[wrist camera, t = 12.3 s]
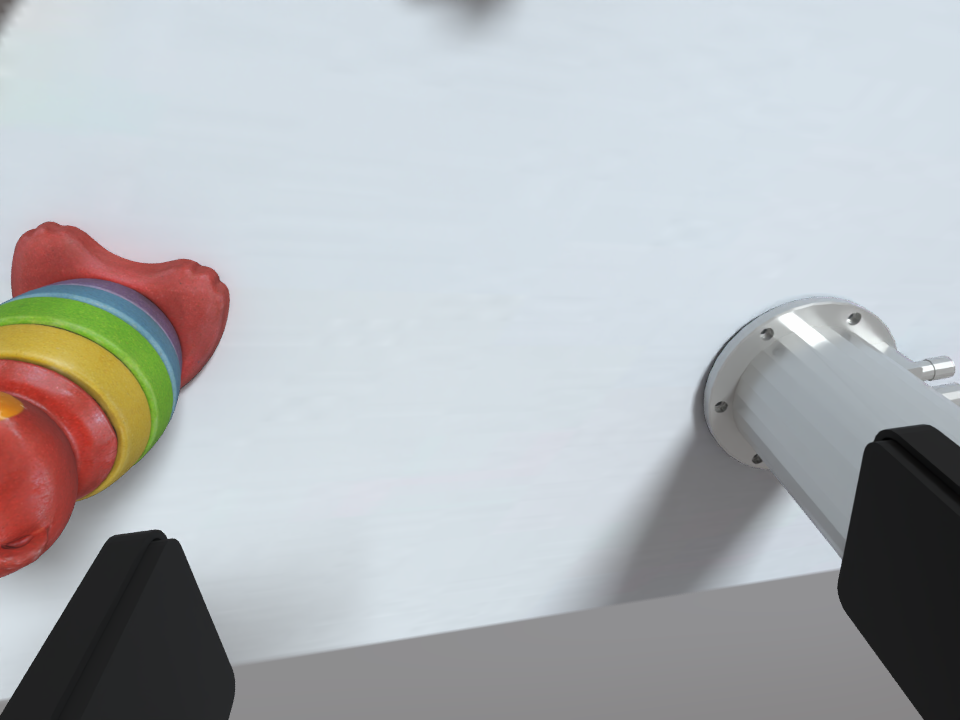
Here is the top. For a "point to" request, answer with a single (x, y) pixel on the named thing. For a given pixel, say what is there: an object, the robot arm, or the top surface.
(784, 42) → the top surface
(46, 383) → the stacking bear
